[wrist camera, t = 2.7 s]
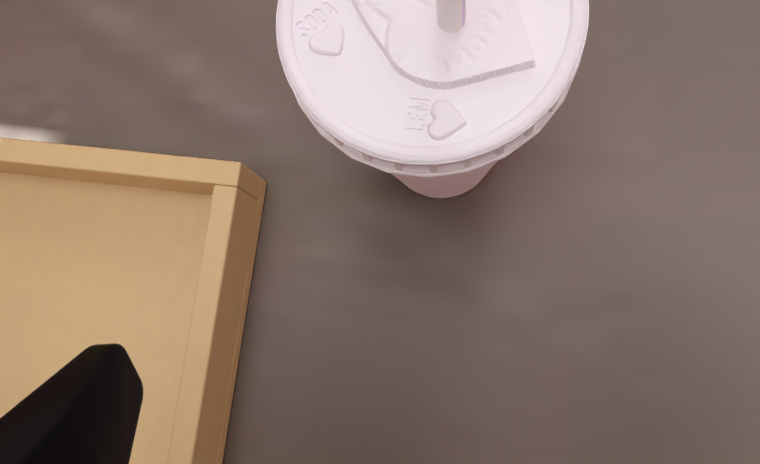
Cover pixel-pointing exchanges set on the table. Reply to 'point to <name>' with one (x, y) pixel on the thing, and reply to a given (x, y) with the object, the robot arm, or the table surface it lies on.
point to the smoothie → (430, 79)
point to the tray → (129, 280)
